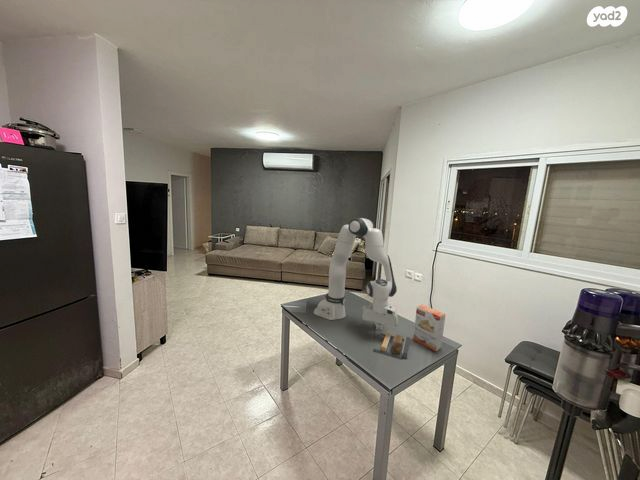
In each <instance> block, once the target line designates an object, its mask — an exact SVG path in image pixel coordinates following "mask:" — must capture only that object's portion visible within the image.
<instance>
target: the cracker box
mask: <svg viewBox="0 0 640 480" xmlns="http://www.w3.org/2000/svg"><path fill="white" fill-rule="evenodd" d="M445 320H446V313H443V312H441V311H438V310H436V309H433V308H431V307H430V306H428V305H424V304H421V305H418V306H416V311H415V320H414V329H413V330H414V331H413V341H415V342H417V343H419V344H420V345H422V346H425V347H426V348H428V349H430V350H431V351H433V352H438V351H439V350H441V349H442V344H443V336H444V328H445V323H446V321H445Z"/></svg>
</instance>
